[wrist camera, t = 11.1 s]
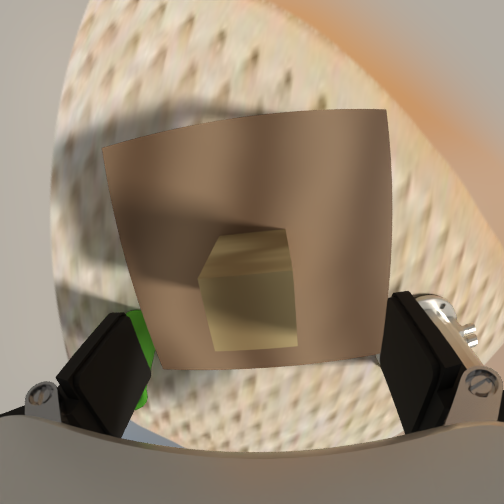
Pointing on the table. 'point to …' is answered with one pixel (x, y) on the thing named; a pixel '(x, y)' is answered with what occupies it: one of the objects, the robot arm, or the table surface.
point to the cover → (259, 237)
